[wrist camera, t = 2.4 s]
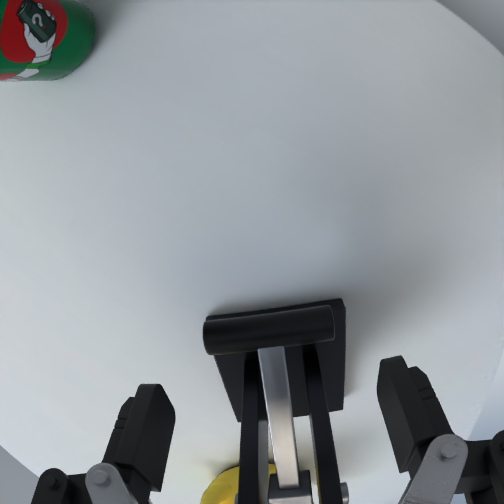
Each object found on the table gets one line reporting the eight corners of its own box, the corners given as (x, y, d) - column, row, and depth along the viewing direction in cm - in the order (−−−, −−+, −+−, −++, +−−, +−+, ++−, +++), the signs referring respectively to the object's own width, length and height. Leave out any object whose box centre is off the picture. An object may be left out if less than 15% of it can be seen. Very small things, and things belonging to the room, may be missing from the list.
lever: (210, 316, 15) (197, 326, 13) (326, 301, 15) (334, 308, 12) (247, 506, 15) (242, 532, 12) (340, 497, 14) (345, 522, 12)
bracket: (206, 315, 21) (170, 499, 10) (341, 297, 20) (400, 478, 9) (238, 412, 26) (230, 546, 14) (341, 399, 25) (366, 533, 14)
